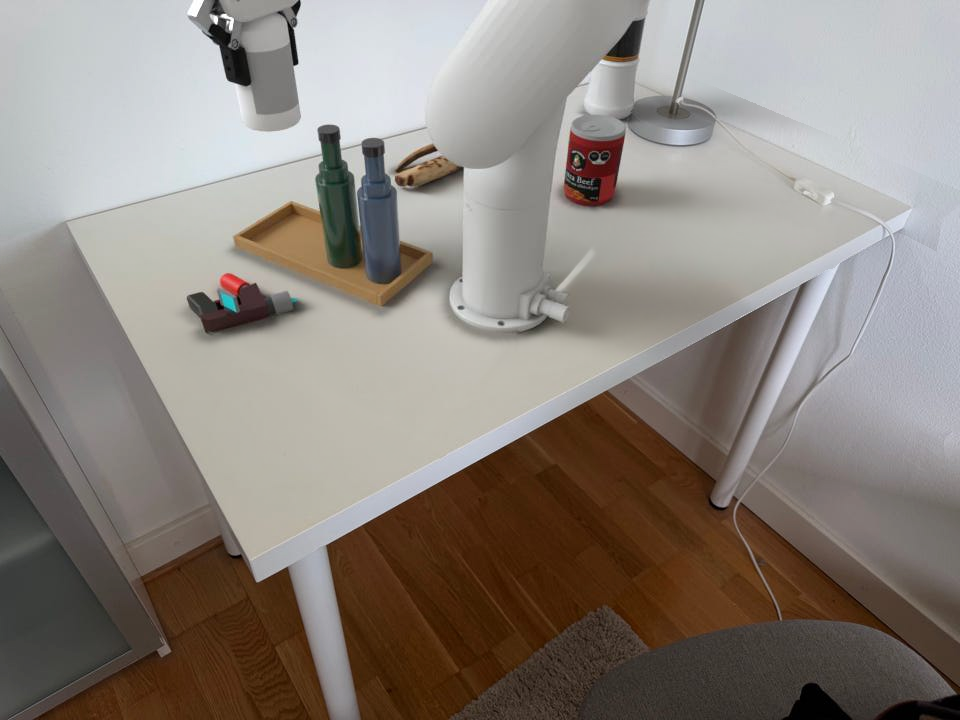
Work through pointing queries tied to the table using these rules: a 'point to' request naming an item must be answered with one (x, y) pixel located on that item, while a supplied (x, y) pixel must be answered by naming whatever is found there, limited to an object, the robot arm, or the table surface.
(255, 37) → the spray bottle
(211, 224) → the table surface
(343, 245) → the green bottle
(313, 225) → the tray
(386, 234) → the slate bottle
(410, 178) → the lashed bone hook
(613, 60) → the vodka
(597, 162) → the canned food
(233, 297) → the toy gun
